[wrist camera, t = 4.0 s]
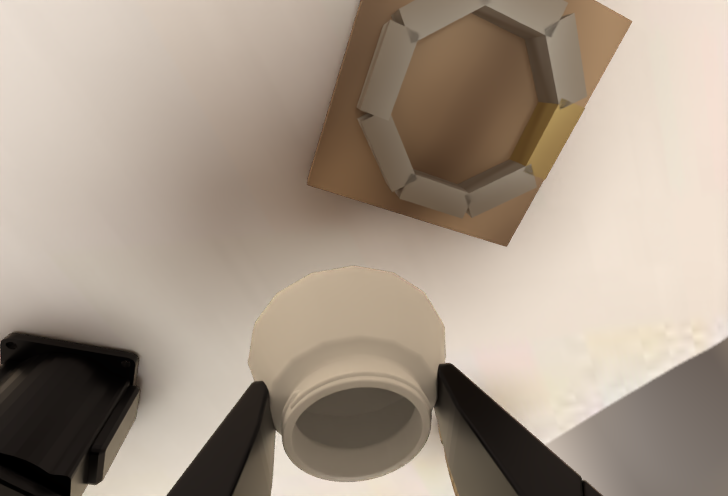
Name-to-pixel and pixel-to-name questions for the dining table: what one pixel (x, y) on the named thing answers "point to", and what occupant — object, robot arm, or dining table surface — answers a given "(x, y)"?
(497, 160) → the hub plate
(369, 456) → the white jar
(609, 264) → the dining table surface
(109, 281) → the dining table surface
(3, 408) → the robot arm
